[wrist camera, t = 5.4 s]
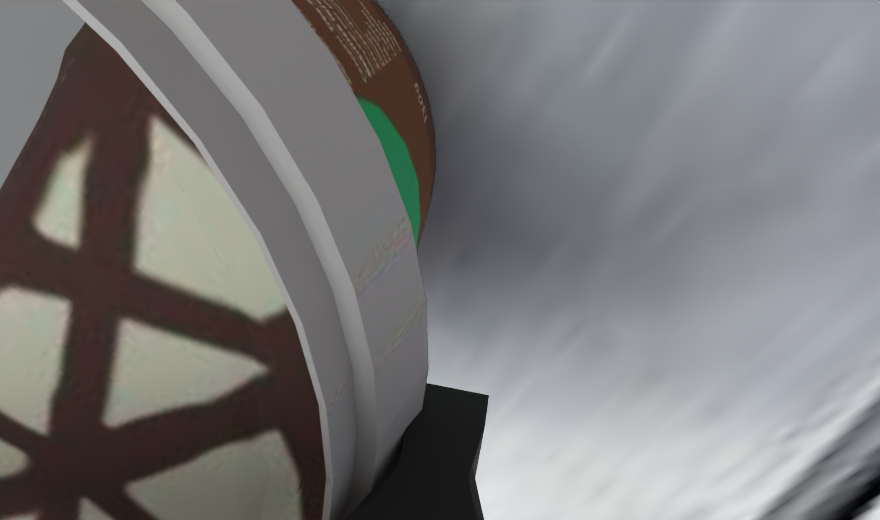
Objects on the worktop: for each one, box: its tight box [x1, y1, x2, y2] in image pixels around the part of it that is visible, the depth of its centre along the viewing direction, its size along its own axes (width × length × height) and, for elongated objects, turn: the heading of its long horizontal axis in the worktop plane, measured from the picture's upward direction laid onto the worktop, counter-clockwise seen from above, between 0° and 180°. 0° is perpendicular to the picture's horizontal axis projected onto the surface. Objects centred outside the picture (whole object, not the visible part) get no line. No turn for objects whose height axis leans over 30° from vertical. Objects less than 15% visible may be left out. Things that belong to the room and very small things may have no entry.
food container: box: [0, 0, 436, 520], centre depth 12 cm, size 12×6×10 cm, turn 140°
